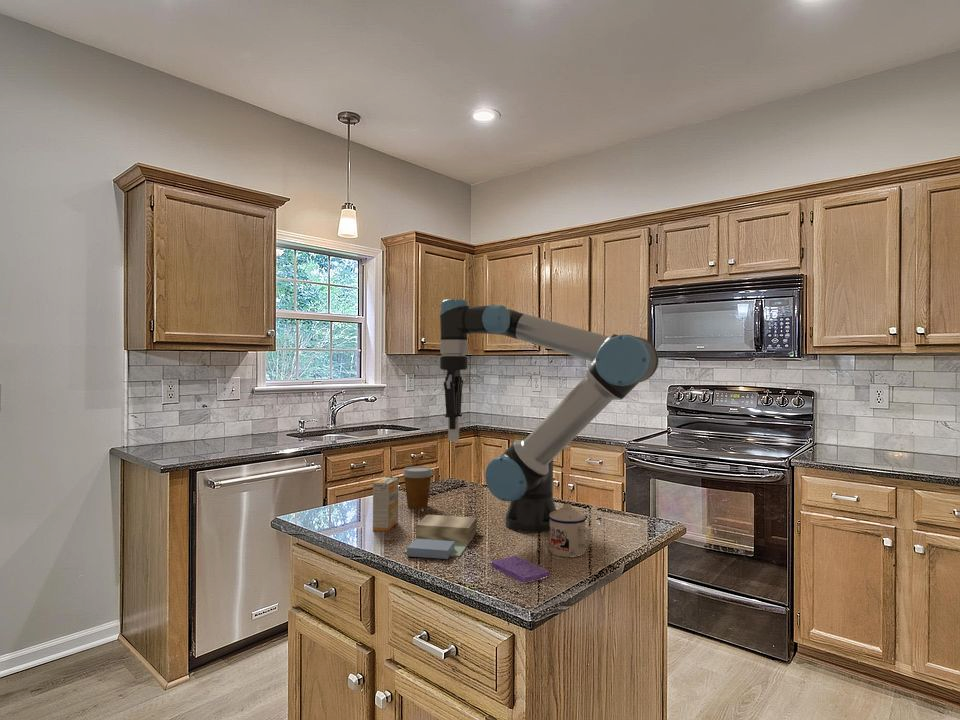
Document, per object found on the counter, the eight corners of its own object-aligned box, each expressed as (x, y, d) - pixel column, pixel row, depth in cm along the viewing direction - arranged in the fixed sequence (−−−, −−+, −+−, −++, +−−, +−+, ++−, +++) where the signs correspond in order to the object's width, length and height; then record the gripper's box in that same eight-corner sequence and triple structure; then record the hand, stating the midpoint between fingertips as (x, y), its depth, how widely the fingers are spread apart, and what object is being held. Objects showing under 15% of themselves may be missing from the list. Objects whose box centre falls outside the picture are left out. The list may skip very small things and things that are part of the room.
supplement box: (388, 531, 157) (388, 483, 157) (372, 530, 158) (372, 482, 158) (399, 523, 165) (399, 477, 165) (383, 522, 166) (383, 476, 166)
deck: (476, 532, 157) (476, 517, 157) (468, 543, 147) (468, 528, 147) (427, 529, 159) (427, 514, 159) (415, 540, 150) (416, 524, 149)
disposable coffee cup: (431, 510, 179) (431, 471, 179) (400, 510, 179) (400, 471, 179) (433, 502, 189) (434, 466, 188) (404, 502, 189) (404, 465, 189)
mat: (468, 544, 147) (468, 542, 147) (459, 556, 137) (459, 555, 137) (415, 540, 149) (415, 539, 149) (403, 552, 140) (403, 551, 140)
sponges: (523, 586, 121) (523, 577, 121) (490, 568, 131) (490, 559, 131) (549, 579, 125) (549, 570, 125) (515, 562, 135) (515, 554, 135)
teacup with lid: (540, 550, 142) (540, 503, 142) (566, 543, 147) (566, 498, 147) (577, 564, 132) (577, 513, 132) (603, 556, 138) (603, 507, 138)
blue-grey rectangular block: (447, 550, 135) (447, 559, 135) (454, 541, 142) (454, 549, 142) (406, 547, 137) (406, 556, 137) (415, 538, 144) (415, 546, 144)
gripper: (446, 355, 167) (446, 437, 167) (434, 355, 154) (434, 443, 154) (472, 355, 165) (471, 437, 165) (461, 355, 153) (461, 444, 153)
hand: (453, 440), depth 160 cm, fingers closed
